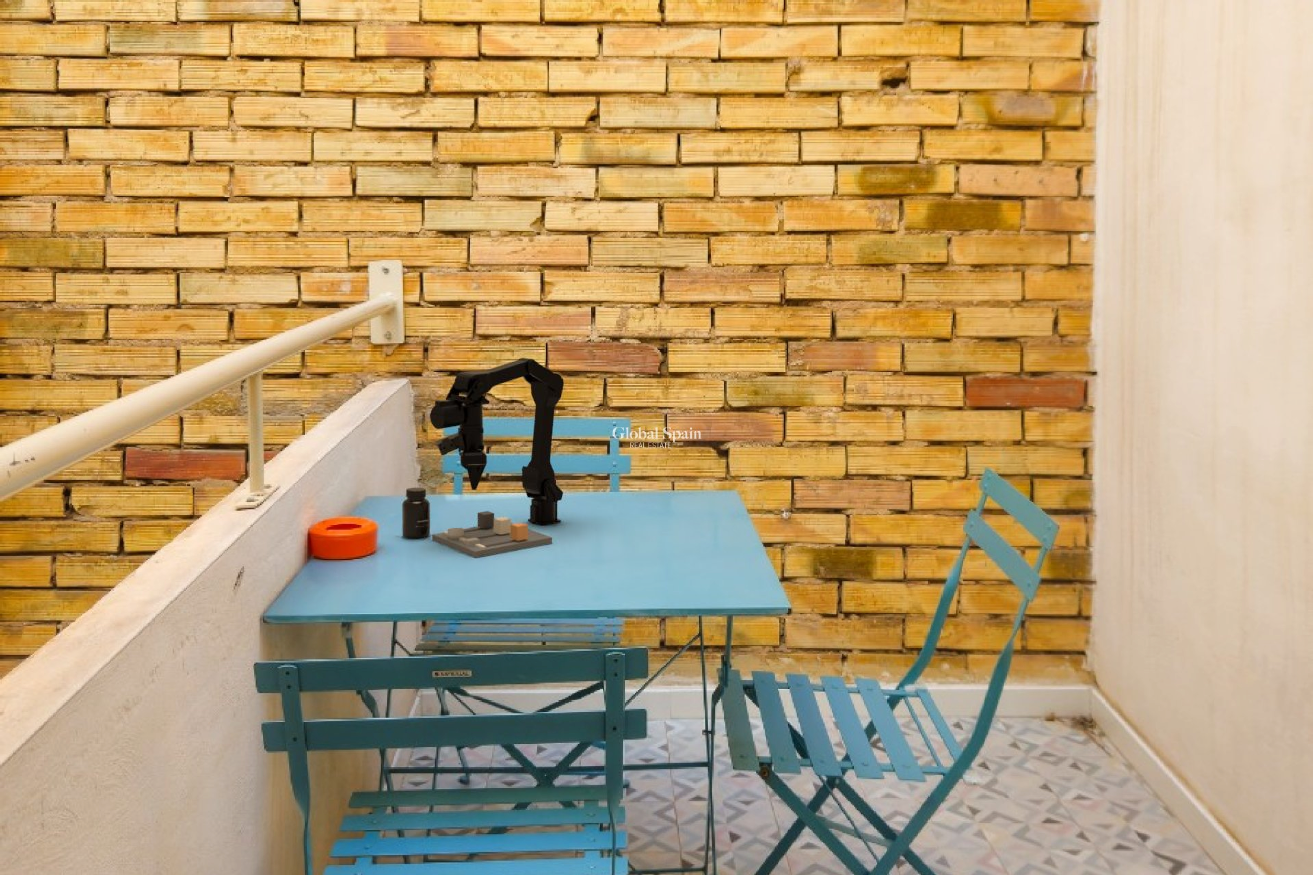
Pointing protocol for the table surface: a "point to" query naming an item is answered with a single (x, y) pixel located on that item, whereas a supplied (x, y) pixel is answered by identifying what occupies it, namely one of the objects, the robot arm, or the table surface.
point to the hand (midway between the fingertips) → (473, 485)
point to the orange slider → (519, 531)
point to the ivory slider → (502, 525)
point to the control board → (487, 541)
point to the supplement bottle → (416, 514)
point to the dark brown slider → (485, 519)
